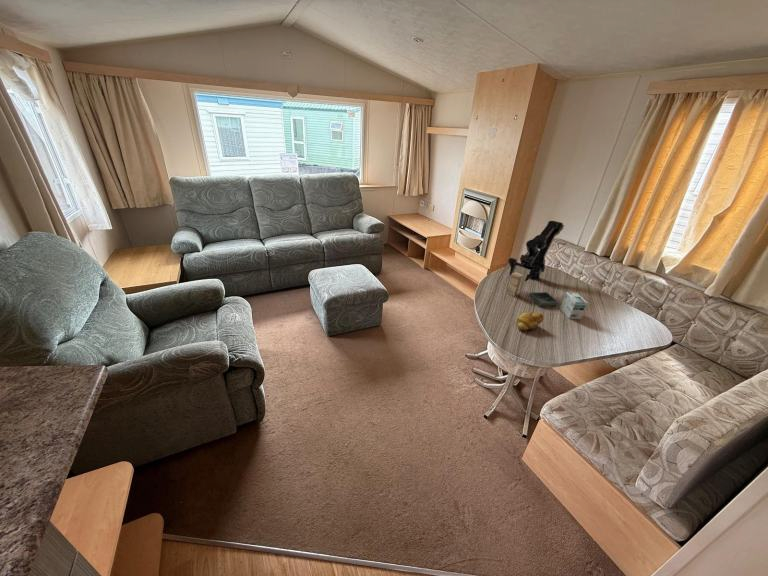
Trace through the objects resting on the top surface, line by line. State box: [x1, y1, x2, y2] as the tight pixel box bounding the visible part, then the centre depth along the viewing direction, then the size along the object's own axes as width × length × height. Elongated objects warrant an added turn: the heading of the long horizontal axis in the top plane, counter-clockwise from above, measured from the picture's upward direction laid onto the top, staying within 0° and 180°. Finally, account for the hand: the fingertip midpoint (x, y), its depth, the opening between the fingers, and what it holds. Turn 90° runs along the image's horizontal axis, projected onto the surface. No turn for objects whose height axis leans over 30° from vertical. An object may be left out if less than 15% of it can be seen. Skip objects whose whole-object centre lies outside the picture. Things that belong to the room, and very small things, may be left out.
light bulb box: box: [559, 291, 589, 320], centre depth 166 cm, size 11×7×11 cm, turn 179°
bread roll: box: [516, 311, 544, 332], centre depth 153 cm, size 13×10×8 cm
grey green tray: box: [528, 291, 559, 308], centre depth 178 cm, size 11×11×3 cm
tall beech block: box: [505, 272, 523, 297], centre depth 182 cm, size 4×4×12 cm
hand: (517, 278), depth 181 cm, fingers open, 9 cm apart
